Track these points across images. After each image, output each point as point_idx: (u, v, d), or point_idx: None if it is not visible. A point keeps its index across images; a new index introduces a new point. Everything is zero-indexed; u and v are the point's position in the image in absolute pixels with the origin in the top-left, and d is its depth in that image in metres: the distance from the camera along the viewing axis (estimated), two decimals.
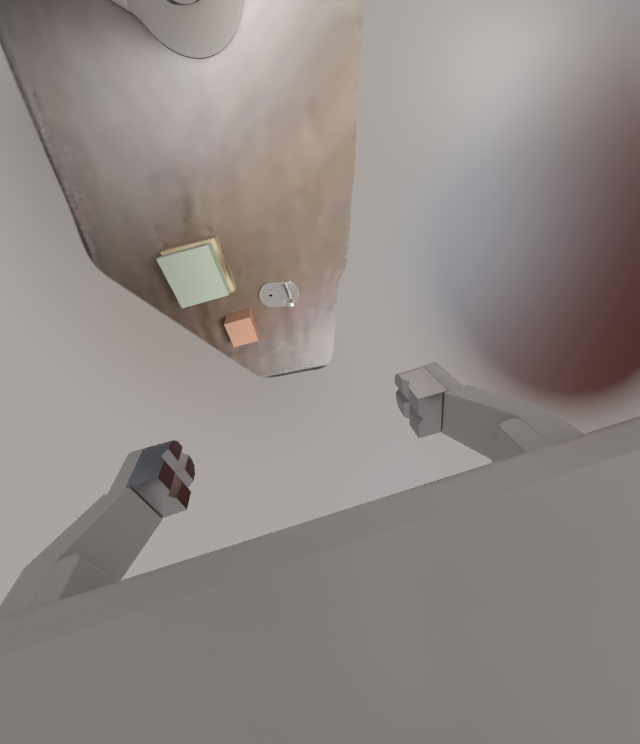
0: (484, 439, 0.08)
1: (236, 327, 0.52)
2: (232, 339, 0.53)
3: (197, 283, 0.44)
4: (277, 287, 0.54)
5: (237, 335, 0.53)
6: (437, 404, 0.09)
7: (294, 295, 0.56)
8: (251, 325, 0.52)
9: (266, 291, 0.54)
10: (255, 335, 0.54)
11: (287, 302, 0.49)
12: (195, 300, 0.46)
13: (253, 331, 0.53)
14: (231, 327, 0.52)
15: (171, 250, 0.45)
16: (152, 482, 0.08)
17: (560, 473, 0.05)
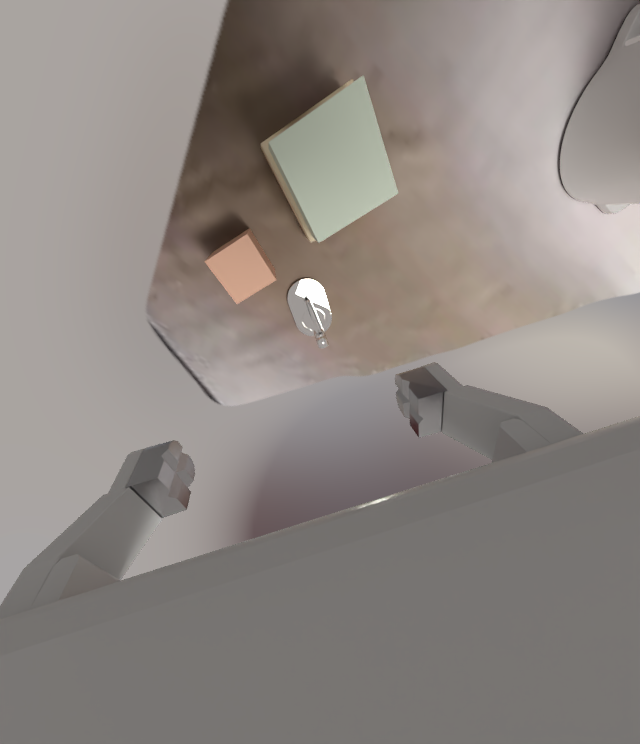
0: (484, 439, 0.08)
1: (249, 259, 0.27)
2: (220, 255, 0.27)
3: (329, 178, 0.22)
4: (320, 303, 0.36)
5: (233, 264, 0.27)
6: (437, 404, 0.09)
7: None
8: (261, 285, 0.29)
9: (310, 289, 0.34)
10: (244, 296, 0.29)
11: (324, 336, 0.31)
12: (292, 174, 0.22)
13: (251, 291, 0.29)
14: (245, 249, 0.27)
15: None
16: (152, 482, 0.08)
17: (560, 473, 0.05)
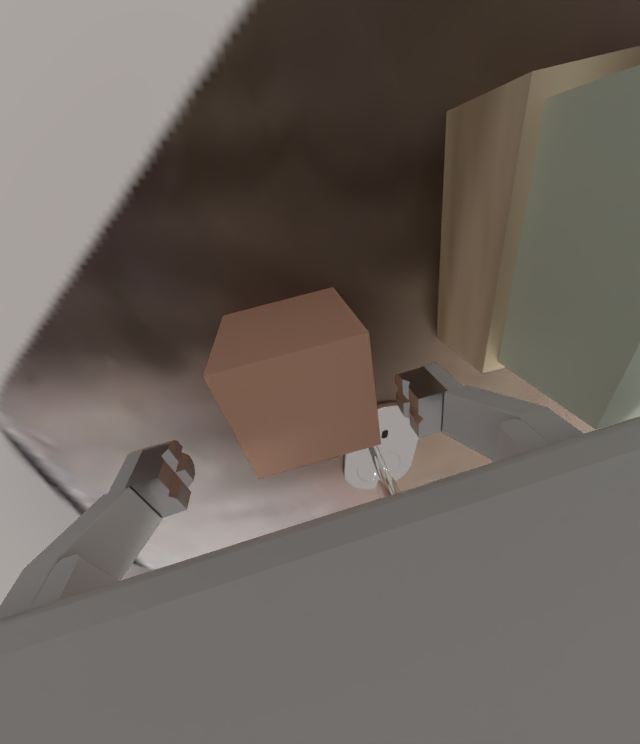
0: (484, 439, 0.08)
1: (340, 393, 0.09)
2: (262, 370, 0.08)
3: None
4: (403, 446, 0.18)
5: (289, 396, 0.09)
6: (437, 404, 0.09)
7: (371, 480, 0.20)
8: (340, 451, 0.11)
9: (399, 423, 0.17)
10: (285, 466, 0.11)
11: None
12: None
13: (308, 459, 0.11)
14: (343, 370, 0.09)
15: None
16: (152, 482, 0.08)
17: (560, 473, 0.05)
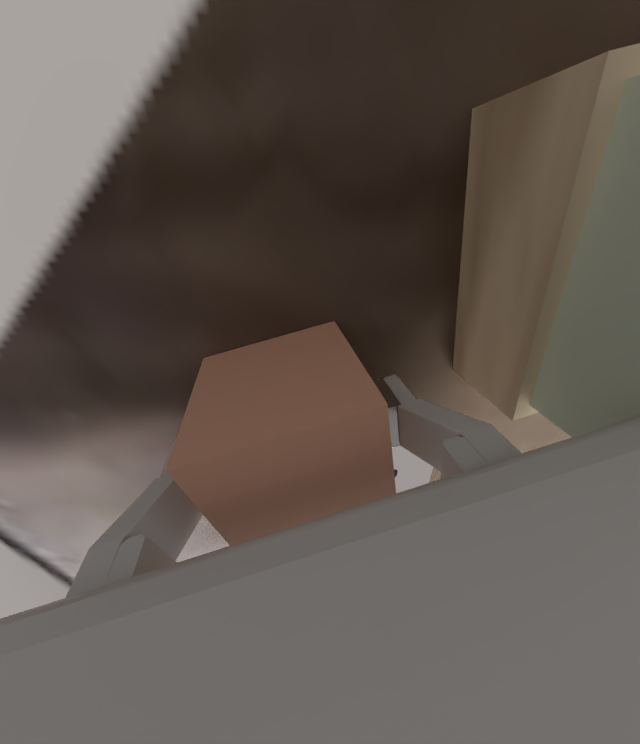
0: (436, 454, 0.08)
1: (348, 472, 0.07)
2: (247, 457, 0.06)
3: None
4: (414, 484, 0.16)
5: (284, 481, 0.07)
6: (392, 418, 0.08)
7: None
8: None
9: (410, 462, 0.15)
10: None
11: None
12: None
13: None
14: (353, 447, 0.07)
15: None
16: None
17: (560, 473, 0.05)
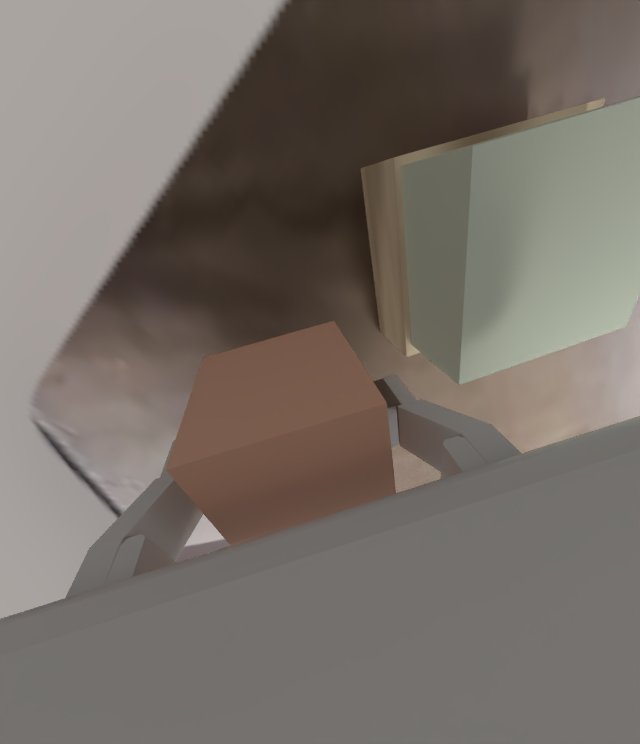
0: (436, 454, 0.08)
1: (348, 472, 0.07)
2: (247, 456, 0.06)
3: (543, 272, 0.10)
4: None
5: (284, 480, 0.07)
6: (392, 418, 0.08)
7: None
8: None
9: None
10: None
11: None
12: (483, 243, 0.09)
13: None
14: (353, 447, 0.07)
15: None
16: None
17: (560, 473, 0.05)
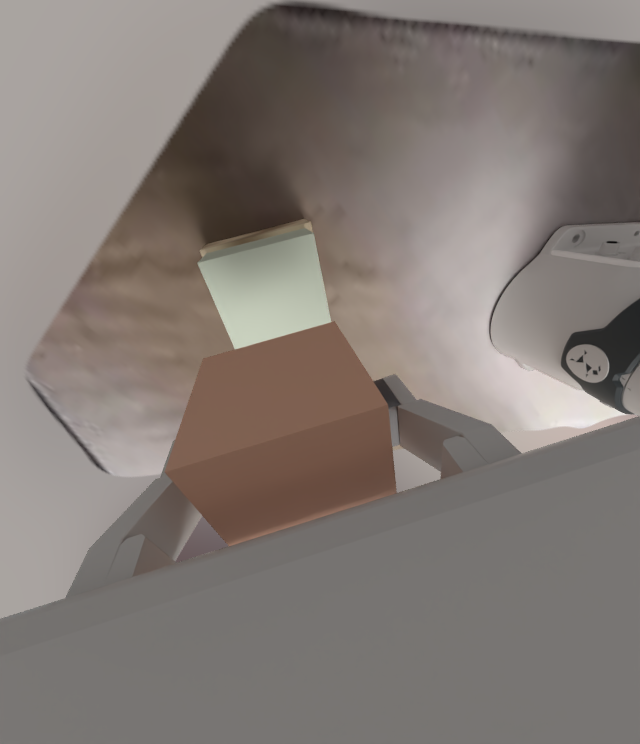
0: (436, 454, 0.08)
1: (349, 474, 0.07)
2: (246, 458, 0.06)
3: (262, 309, 0.21)
4: None
5: (284, 483, 0.07)
6: (392, 418, 0.08)
7: None
8: None
9: None
10: None
11: None
12: (221, 297, 0.20)
13: None
14: (354, 449, 0.07)
15: None
16: None
17: (560, 473, 0.05)
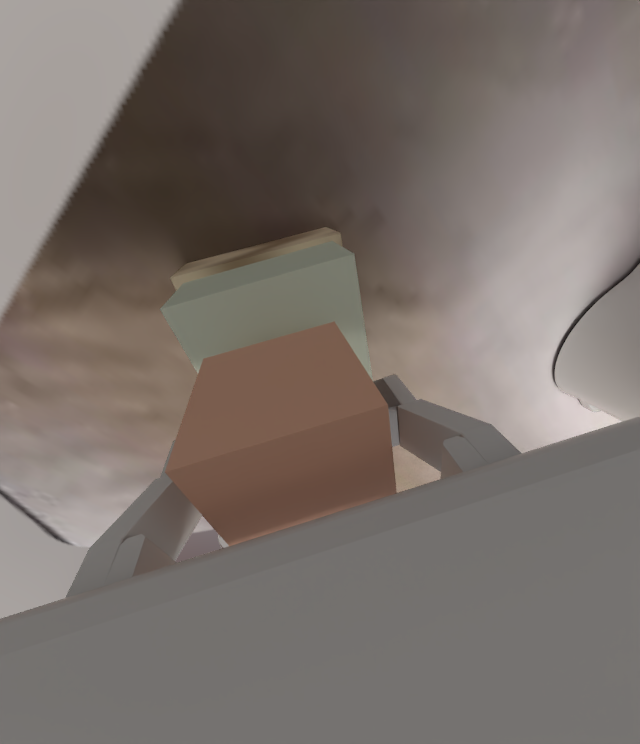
0: (436, 454, 0.08)
1: (349, 474, 0.07)
2: (247, 458, 0.06)
3: None
4: None
5: (284, 482, 0.07)
6: (392, 418, 0.08)
7: None
8: None
9: None
10: None
11: None
12: (203, 358, 0.12)
13: None
14: (354, 449, 0.07)
15: None
16: None
17: (560, 473, 0.05)
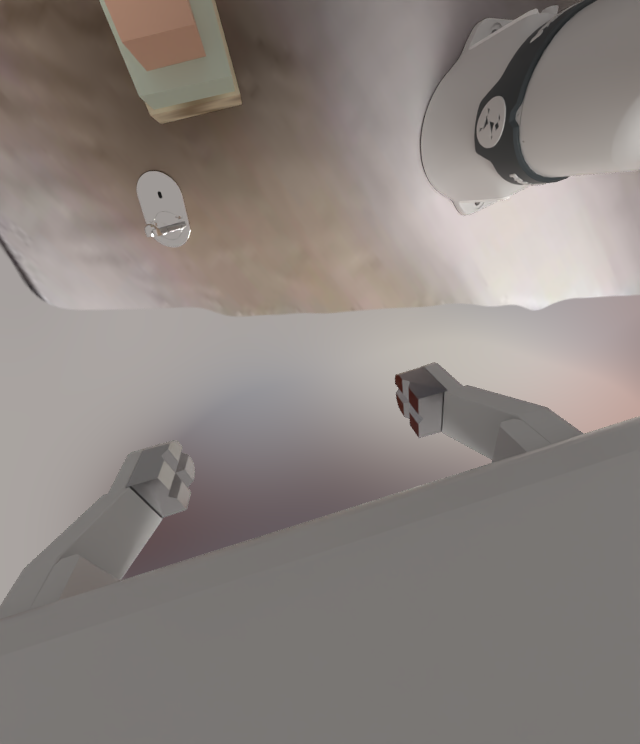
0: (484, 439, 0.08)
1: None
2: None
3: None
4: (177, 208, 0.33)
5: None
6: (437, 404, 0.09)
7: (169, 239, 0.35)
8: (169, 24, 0.18)
9: (165, 187, 0.32)
10: (137, 33, 0.18)
11: (154, 225, 0.28)
12: None
13: (149, 27, 0.18)
14: None
15: None
16: (152, 482, 0.08)
17: (560, 473, 0.05)
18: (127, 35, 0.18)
